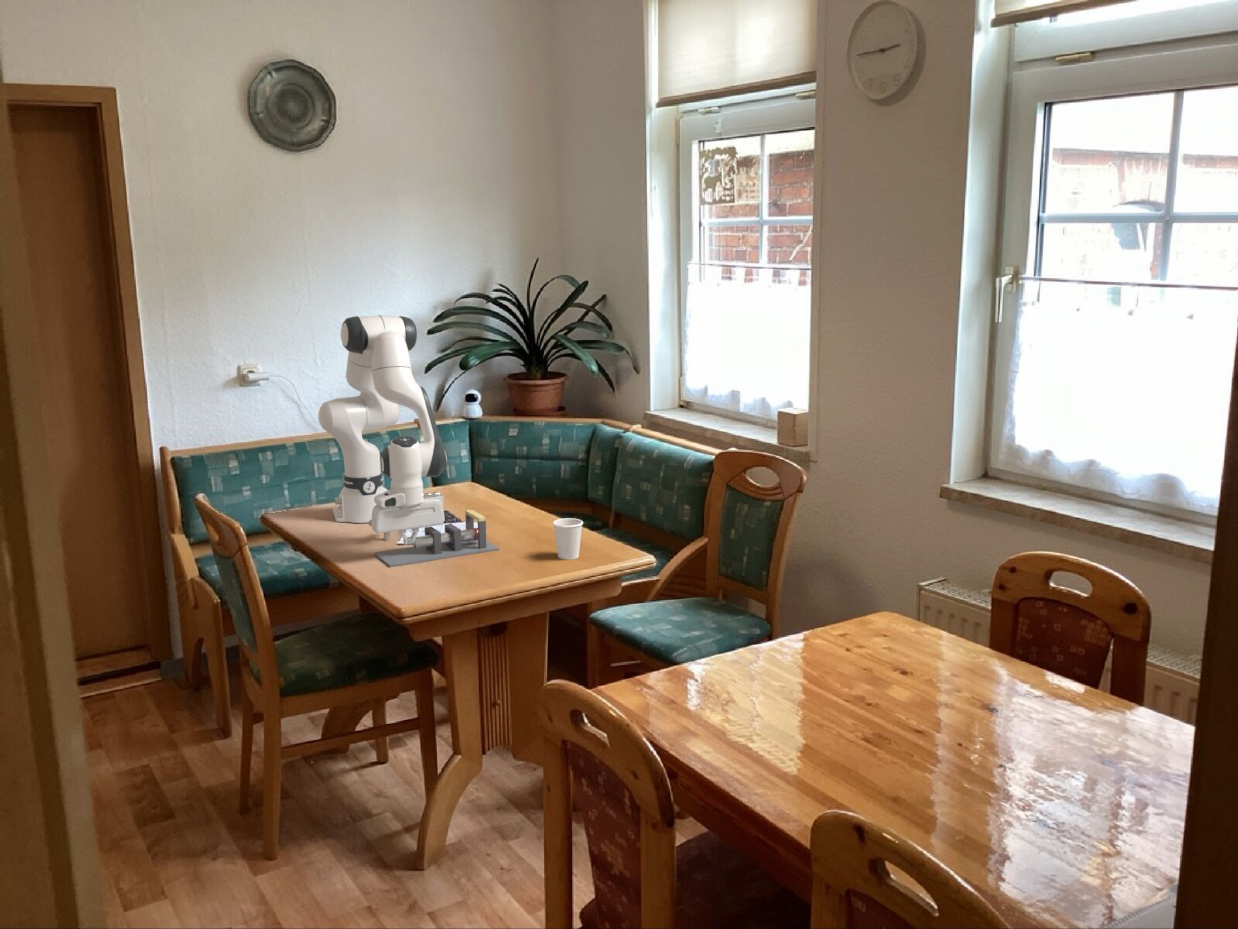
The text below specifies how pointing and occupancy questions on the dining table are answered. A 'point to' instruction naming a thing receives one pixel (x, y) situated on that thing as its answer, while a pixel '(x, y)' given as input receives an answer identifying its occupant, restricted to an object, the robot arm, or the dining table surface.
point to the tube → (446, 538)
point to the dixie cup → (568, 537)
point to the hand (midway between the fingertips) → (409, 544)
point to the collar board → (442, 551)
